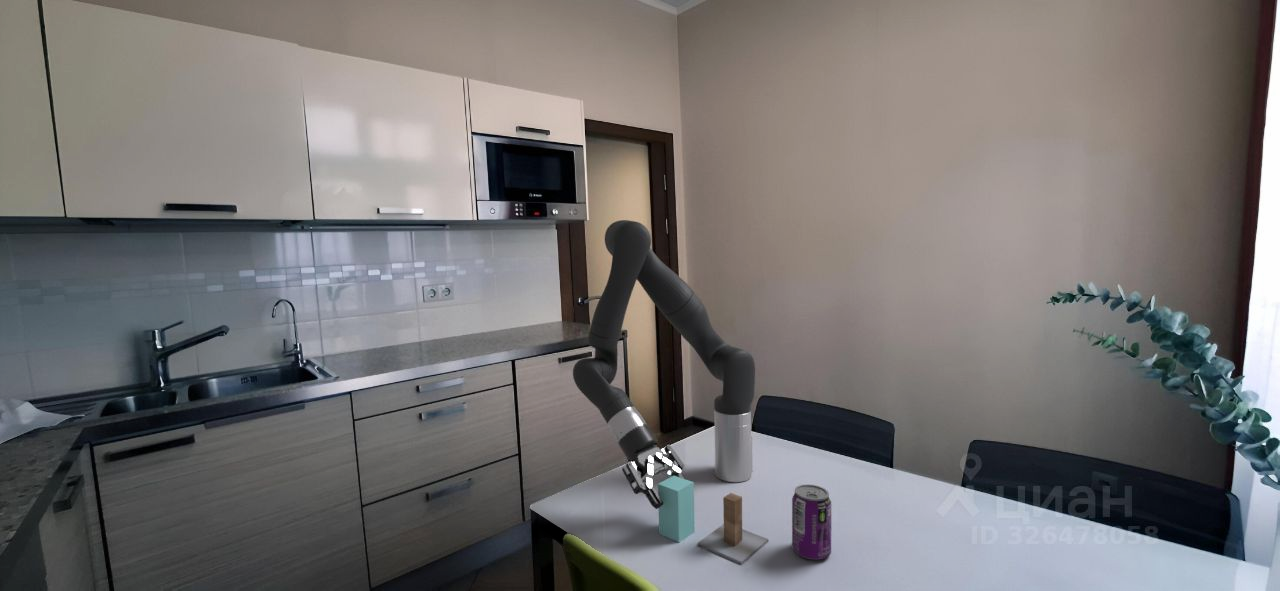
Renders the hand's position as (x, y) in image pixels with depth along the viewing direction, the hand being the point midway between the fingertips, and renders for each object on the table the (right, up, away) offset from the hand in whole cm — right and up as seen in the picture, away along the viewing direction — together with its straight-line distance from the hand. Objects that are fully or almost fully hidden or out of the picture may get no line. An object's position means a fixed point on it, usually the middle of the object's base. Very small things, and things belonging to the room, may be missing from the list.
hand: (673, 499), depth 108 cm
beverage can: (+26, -7, -8) cm, 28 cm away
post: (+11, -7, -4) cm, 14 cm away
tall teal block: (+1, -7, 0) cm, 7 cm away
